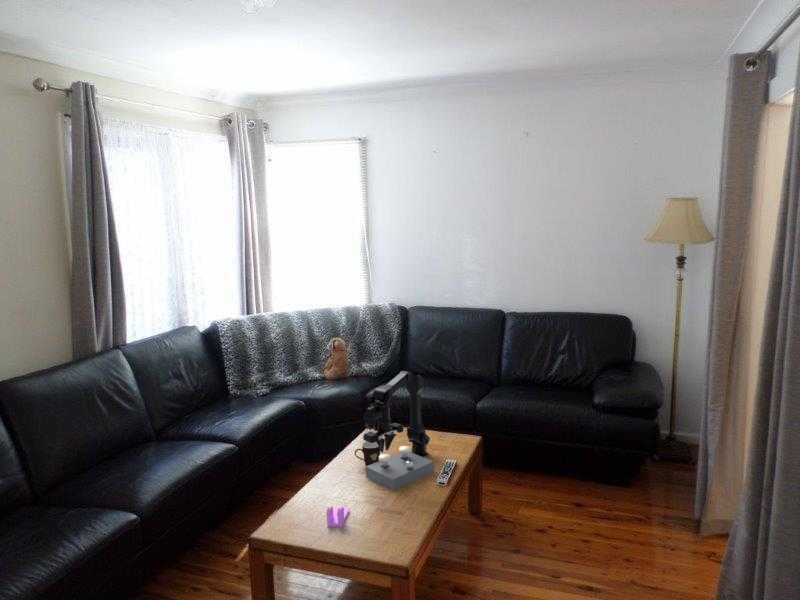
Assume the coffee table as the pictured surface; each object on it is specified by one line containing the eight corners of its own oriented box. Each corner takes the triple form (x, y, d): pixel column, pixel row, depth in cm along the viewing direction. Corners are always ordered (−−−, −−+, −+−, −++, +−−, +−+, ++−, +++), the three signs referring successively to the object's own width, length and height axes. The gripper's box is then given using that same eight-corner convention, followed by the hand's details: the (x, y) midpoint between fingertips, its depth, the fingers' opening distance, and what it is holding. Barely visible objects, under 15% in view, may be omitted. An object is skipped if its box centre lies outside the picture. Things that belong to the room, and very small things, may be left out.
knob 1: (385, 462, 260) (385, 453, 260) (393, 465, 256) (393, 456, 256) (376, 465, 257) (376, 456, 256) (384, 469, 253) (384, 460, 252)
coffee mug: (382, 460, 274) (381, 440, 272) (380, 469, 266) (379, 448, 264) (358, 460, 275) (357, 440, 274) (354, 468, 267) (353, 447, 265)
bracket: (341, 527, 218) (340, 510, 217) (327, 526, 219) (326, 509, 218) (350, 509, 231) (349, 493, 229) (336, 509, 231) (335, 492, 230)
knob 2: (405, 453, 268) (404, 445, 268) (413, 457, 264) (412, 448, 264) (396, 457, 265) (396, 448, 264) (404, 460, 261) (404, 451, 260)
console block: (405, 460, 274) (405, 450, 273) (433, 472, 261) (433, 461, 260) (366, 477, 258) (365, 466, 257) (393, 490, 245) (393, 479, 244)
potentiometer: (409, 466, 256) (409, 456, 255) (414, 468, 254) (414, 458, 253) (404, 468, 254) (404, 458, 253) (409, 470, 252) (409, 460, 251)
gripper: (386, 407, 265) (388, 440, 268) (354, 418, 253) (356, 452, 255) (403, 413, 257) (404, 446, 260) (371, 424, 245) (372, 459, 247)
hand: (384, 451), depth 256 cm, fingers open, 3 cm apart
